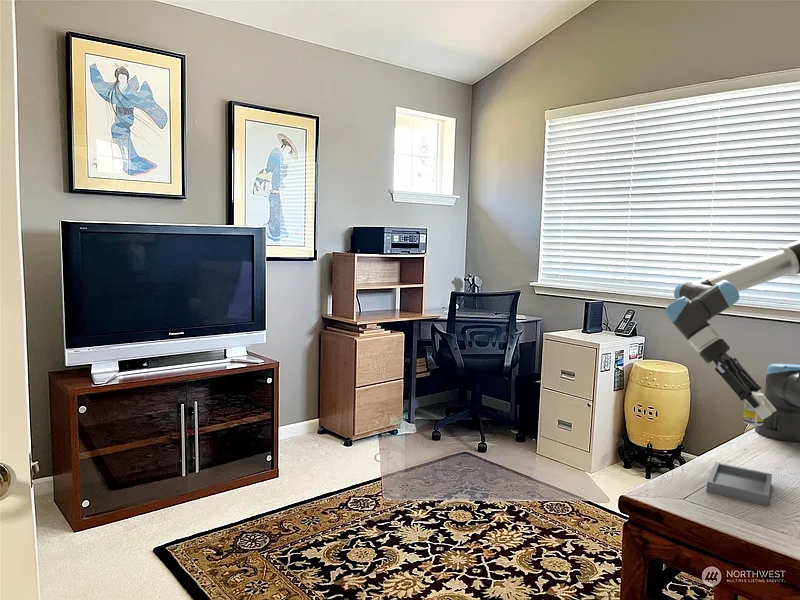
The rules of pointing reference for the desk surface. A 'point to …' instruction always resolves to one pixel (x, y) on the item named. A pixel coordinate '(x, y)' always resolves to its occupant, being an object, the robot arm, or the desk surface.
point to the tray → (740, 483)
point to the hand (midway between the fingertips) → (769, 414)
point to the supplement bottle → (752, 412)
